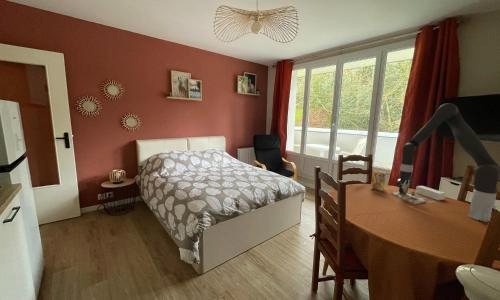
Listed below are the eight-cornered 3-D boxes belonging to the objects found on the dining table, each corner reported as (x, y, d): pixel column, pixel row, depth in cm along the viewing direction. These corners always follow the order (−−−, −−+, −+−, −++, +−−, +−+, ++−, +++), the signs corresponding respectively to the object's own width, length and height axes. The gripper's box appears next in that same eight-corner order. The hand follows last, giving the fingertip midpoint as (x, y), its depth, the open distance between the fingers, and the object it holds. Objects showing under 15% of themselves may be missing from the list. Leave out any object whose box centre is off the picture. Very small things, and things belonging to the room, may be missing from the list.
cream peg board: (425, 203, 150) (426, 200, 149) (414, 205, 147) (415, 201, 147) (401, 194, 167) (401, 191, 166) (391, 195, 164) (391, 192, 164)
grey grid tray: (436, 203, 151) (436, 197, 150) (428, 204, 149) (429, 198, 148) (408, 193, 170) (409, 188, 169) (401, 193, 168) (402, 189, 167)
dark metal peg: (407, 194, 159) (408, 183, 158) (403, 194, 158) (404, 184, 157) (402, 192, 163) (403, 182, 161) (398, 192, 162) (399, 182, 160)
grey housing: (443, 200, 156) (445, 192, 155) (437, 201, 154) (438, 193, 153) (421, 192, 171) (422, 185, 170) (415, 193, 169) (416, 186, 168)
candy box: (384, 190, 175) (386, 172, 172) (382, 191, 172) (384, 173, 169) (372, 187, 181) (374, 170, 179) (370, 189, 178) (372, 171, 176)
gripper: (403, 172, 152) (400, 195, 155) (418, 171, 156) (415, 193, 158) (393, 169, 159) (391, 191, 162) (408, 168, 163) (405, 190, 166)
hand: (403, 192), depth 160 cm, fingers closed on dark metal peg, 4 cm apart
